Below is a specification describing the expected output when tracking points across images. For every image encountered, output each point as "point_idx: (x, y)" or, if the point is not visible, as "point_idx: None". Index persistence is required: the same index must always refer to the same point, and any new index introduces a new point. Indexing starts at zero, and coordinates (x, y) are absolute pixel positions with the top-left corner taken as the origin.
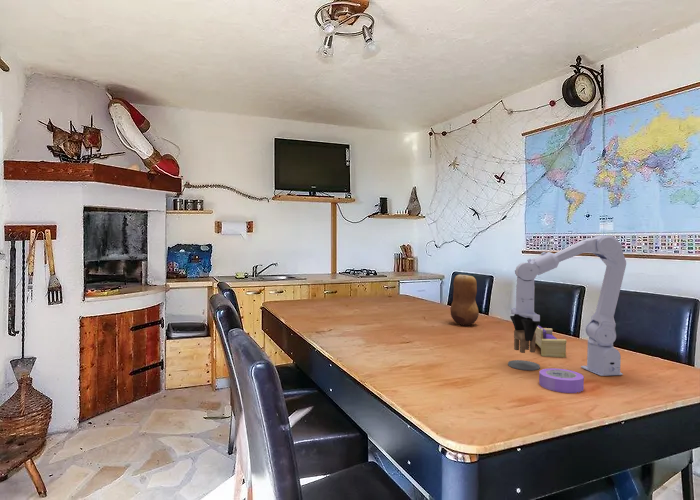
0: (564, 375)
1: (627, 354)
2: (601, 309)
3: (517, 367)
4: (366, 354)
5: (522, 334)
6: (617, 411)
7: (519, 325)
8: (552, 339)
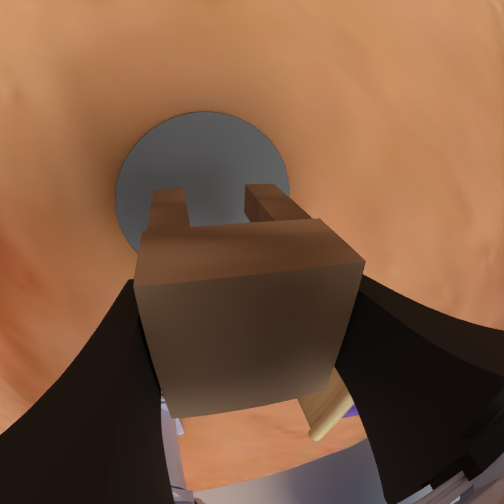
0: None
1: (278, 466)
2: None
3: (145, 134)
4: None
5: (135, 285)
6: None
7: (382, 368)
8: (339, 414)
